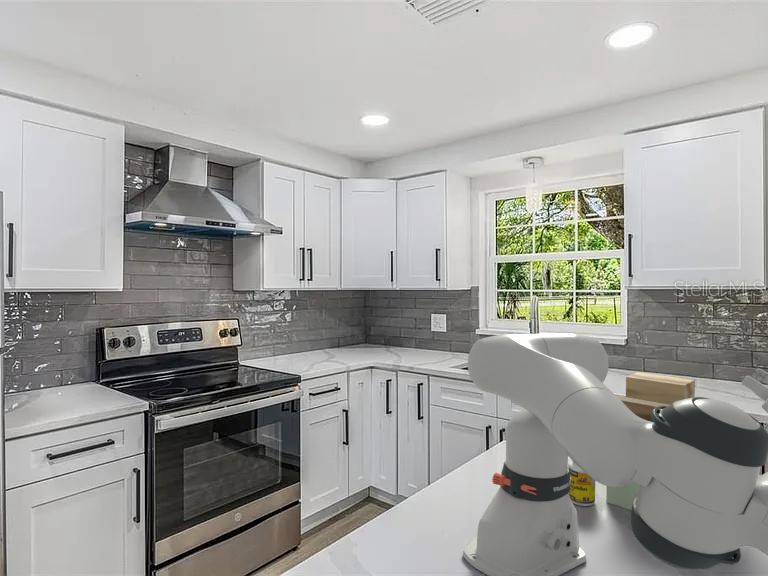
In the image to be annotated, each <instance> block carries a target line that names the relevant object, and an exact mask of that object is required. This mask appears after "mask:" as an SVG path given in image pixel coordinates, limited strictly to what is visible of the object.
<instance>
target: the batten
mask: <svg viewBox="0 0 768 576" xmlns="http://www.w3.org/2000/svg"><path fill="white" fill-rule="evenodd" d="M616 396H617V397H618V398H619V399H620V400H621V401H622V402H623V403H624V404H625V405H626V406H627V407H628V409H629V410H630V411H632V412H633V413H634V414H635V415H637V416H638V417H640V418H642V419H644V420H647V421H650V422H653V420H652V418H651V412H652V410H654V409H655V408H656V407H658V406H669V405H668V404H662V403H656V402H650V401H645V400H639V399H633V398H628V397H626V396H621V395H616Z"/></svg>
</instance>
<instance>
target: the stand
mask: <svg viewBox="0 0 768 576" xmlns="http://www.w3.org/2000/svg"><path fill="white" fill-rule="evenodd" d="M695 390H696V380H695V378H694V379H693V378H685V377H677V376H671V375H663V374H657V373H649V372H642V371H641V372H640V371H637V372H635V373H632V374H630V375H627V376H625V397H628V398H633V399H639V400H645V401H650V402H656V403H662V404H668V405H670V404H672V403H674V402H676V401H679V400H683V399H688V398H694V397H696V396H695V395H696V393H695Z"/></svg>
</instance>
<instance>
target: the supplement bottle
mask: <svg viewBox="0 0 768 576" xmlns="http://www.w3.org/2000/svg"><path fill="white" fill-rule="evenodd" d="M568 468H569V470H570V477H571V483H570V491H569V496H570V499H571V501H572V503H573V505H577V506H581V507H590V506H593V505H594V504H595V502H596V481H595V480H594V479H592V478H591V477H590V476H589V475H588V474H586V473H585V472H584V471H583V470H582V469H581V468H580V467H579V466H578V465H576V464H575V463H574V462H573V461H569V462H568Z"/></svg>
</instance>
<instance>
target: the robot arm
mask: <svg viewBox="0 0 768 576" xmlns="http://www.w3.org/2000/svg"><path fill="white" fill-rule="evenodd" d="M467 357H468V358H467V369H468V374H469V377H470V378H471V380H472V382H473V384H474V385H475V386H476V387H477V388H478V389H479V390H480V391H482V392H485V393H490V394H493V395H496V396H499V397H501V398H504V399H506V400H509V401H510V402H513V403H514V404H515V405H518V406H520V407H521V408H523V409H521V410H519V411H517V412H516V413H514V414H513V415H512V416H511V417H510V419H509V420H508V422H507V425H506V427H505V461H503V466H502V469H501V473H499V472H495V473H493V476H492V479H491V482H492V484H493V485H497V486H499V488H498V489H497V491H496V493H495V495H494V496H493V498H492V499H491V501H490V502H489V503H488V506H486V507H487V508H486V509H485V511H484V512H483V514H482V516H481V518H480V519H479V521H478V526H477V533H476V535H475V536H474V537H473V538H472V539H471V541H470V542H469V543H468V544H467V545H466V546H465V547H464V548H463V551H462V556H463V558H464V559H465V560H466V561H467V563H468V564H469V565H470V566H472V567H474V568H475V569H476V570H478V571H480V572H481V573H483V574H484V575H487V576H562V575H563V574H565V573H566V572H567V573H568V571H570V570H572V569H574V568H577V567H578V566H580V565H582V564H584V563H586V561H587V555H586V552H585V551H584V550H583V549H582V548H581V547H580V542H579V541H580V540H579V537H580V536H579V525H578V524H579V523H578V521H579V520H578V511H577V509H576V506H575V504H574V503H572V501H571V499H570V496H569V491H570V483H571V477H570V470H569V468H568V465H569V462H568V461H569V458H570V460H572V461H573V462H574V463H575V464H576V465H578V466H579V467H580V468H581V469H582V470H583V471H584V472H585V473H586V474H588V475H589V476H590V477H591V478H592V479H594V480H595V482H597V483H598V484H601V485H603V486H606V487H607V486H610V487H624V486H628V485H631V484H633V483H635V482H636V483H639V484H640V486H639V489H638V494H637V497H636V498H635V499H634V500H633V504H632V510H630V511H631V512H630V528H631V532H632V534H633V536H635V538H636V540H637V541H638V542H639V543H640V544H641V546H642V547H643V548H644V549H645V550H646V551H647V552H648V553H649V554H651V555H652V556H654V558H656V559H657V560H659V561H661V562H662V563H664V564H666V565H668V566H671V567H674V568H677V569H681V570H708V569H712V568H714V567H716V566H718V565H720V564H723V565H724V564H725V565H729V566H730V565H731V566H734V565H735V564H738V562H740V560H741V558H742V555H741V554H742V553H741V550H740V549H742V548H744V547H750V548H754V549H757V550H759V551H760V552H761V553H764V554H765V555H766V556H768V471H767V472H765V473H763V474H760V473H761V472H760V471H761V467H763V466H765V465H766V464H767V459H768V431H767V430H766V429H765V427H764V426H763V425H762V423H761V422H760V421H759V420H757V419H756V418H755V417H754V416H752V415H750V414H749V413H747V412H745V411H744V410H743V409H741V408H739V407H738V406H735V405H733V404H730V403H728V402H726V401H722V400H719V399H713V398H708V397H701V396H695V397H694V398H688V399H683V400H679V401H676V402H674V403H672V404H670V405H669V406H658V407H656V408H655V409H654V410H652V412H651V418H652V420H653V422H650V421H647V420H644V419H642V418H640V417H638V416H637V415H635V414H634V413H633V412H632V411H630V410H629V409H628V407H627V406H626V405H625V404H624V403H623V402H622V401H621V400H620V399H619V398H618V397H617V396H618V395H616V394H615V393H614V392H613V391H611V390H610V388H608V387H607V385H605V384H604V381H605V380H606V379H607V375H608V372H609V357H608V354H607V352H606V349H605V348H604V345H602V343H601V342H600V341H599V340H598V339H597V338H595V337H593V336H588V335H583V334H579V333H572V332H571V333H570V332H560V333H559V332H552V333H550V332H546V333H539V332H538V333H501V334H498V335H491V336H488V337H487V336H485V337H484V338H483V337H482V338H479V339H477V341H475V342H474V344H473V345H472V347H471V349H470V351H469V353H468V356H467ZM761 382H762V383H761ZM763 383H764V384H763ZM741 384H742V385H743V386H745V387H746V388H748V389H749V390H750V391H752V393H754V394H755V395H756V396H757V397H758V398H760V399H761V400H762V401H764V402H763V404H762V405H761V408H762V409H763V410H764V411H765V412H766V413H767V414H768V386H766V385H768V372H767V371H765V370H763V369H761V368H756V369H755V370H754V372H753V373H752V376H751V375H746V376H745V377H744V378H743V379H742V380H741ZM765 384H766V385H765Z"/></svg>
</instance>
